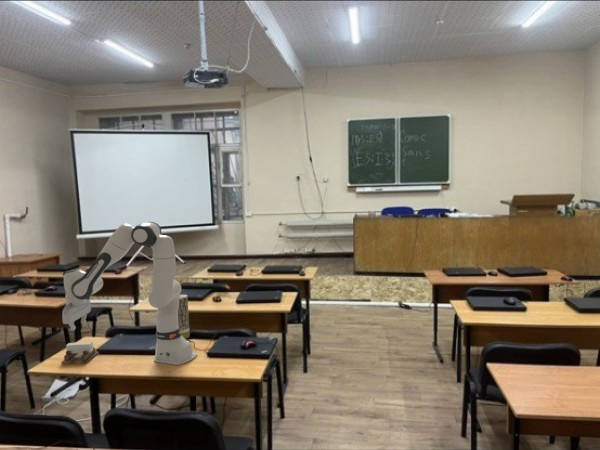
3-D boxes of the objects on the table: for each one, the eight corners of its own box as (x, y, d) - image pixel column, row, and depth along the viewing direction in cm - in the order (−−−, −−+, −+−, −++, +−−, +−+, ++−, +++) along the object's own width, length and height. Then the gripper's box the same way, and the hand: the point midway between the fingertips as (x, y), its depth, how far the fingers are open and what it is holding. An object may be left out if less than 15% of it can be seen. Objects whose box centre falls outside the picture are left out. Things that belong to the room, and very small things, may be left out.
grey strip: (66, 353, 211) (66, 345, 211) (69, 351, 214) (69, 343, 214) (90, 352, 212) (89, 344, 212) (93, 350, 215) (92, 342, 215)
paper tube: (187, 339, 236) (185, 297, 234) (176, 339, 236) (173, 297, 234) (191, 335, 243) (188, 294, 240) (179, 335, 243) (177, 294, 241)
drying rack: (98, 353, 219) (98, 344, 219) (86, 363, 207) (85, 353, 207) (75, 354, 220) (74, 344, 219) (61, 363, 208) (60, 354, 207)
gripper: (69, 306, 200) (72, 333, 201) (92, 294, 220) (94, 319, 222) (57, 306, 200) (60, 334, 201) (80, 295, 220) (83, 319, 222)
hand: (78, 326), depth 212 cm, fingers open, 8 cm apart
